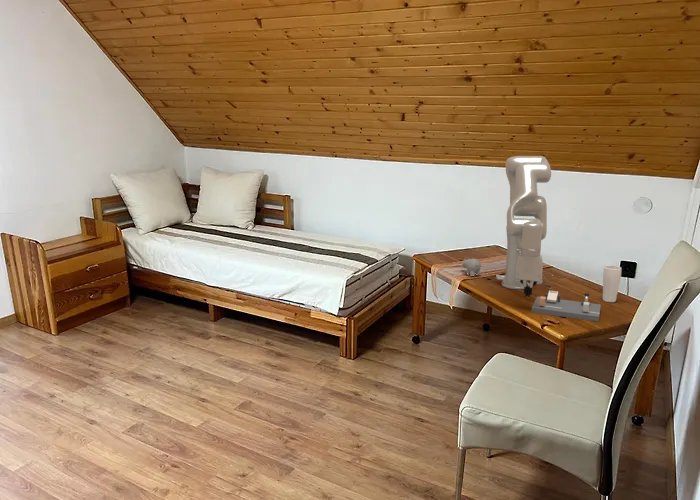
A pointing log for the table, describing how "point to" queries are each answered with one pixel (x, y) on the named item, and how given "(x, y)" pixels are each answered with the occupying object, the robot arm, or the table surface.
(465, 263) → the toy rhinoceros
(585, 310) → the slide paddle
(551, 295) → the rocker switch
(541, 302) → the slide paddle
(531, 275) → the robot arm
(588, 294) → the toggle lever
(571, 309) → the switch panel
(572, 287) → the table surface
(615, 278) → the drinking glass
